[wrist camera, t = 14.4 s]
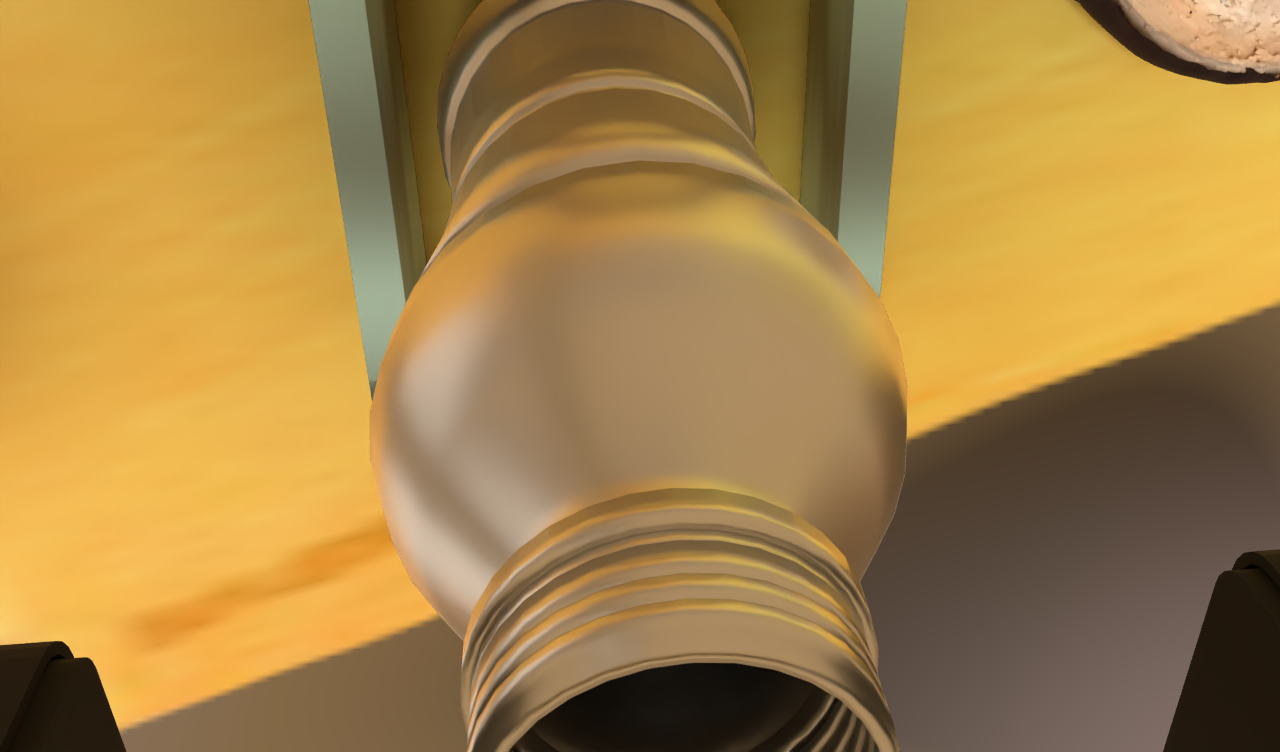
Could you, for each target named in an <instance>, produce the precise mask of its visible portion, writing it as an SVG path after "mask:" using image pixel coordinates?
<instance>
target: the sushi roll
mask: <svg viewBox="0 0 1280 752" xmlns="http://www.w3.org/2000/svg"><path fill="white" fill-rule="evenodd" d="M1076 1H1077V2H1079V3H1080V4H1081V6H1082V7H1083V8H1084V9H1085V10H1086V11H1087V12H1088V13H1089V14H1090V15H1091V16H1092V17H1093V18H1094V19H1095V20H1096V21H1097V22H1098V23H1099V24H1100V25H1101V26H1102V27H1103V28H1104V29H1106V30H1107V31H1108V32H1109V33H1110V34H1111V35H1112V36H1113V37H1114V38H1115V39H1117V40H1118V41H1119V42H1120V43H1121V44H1122V45H1124V46H1125V47H1126V48H1127V49H1128V50H1130V51H1131V52H1132V53H1134V54H1135V55H1136V56H1138V57H1140V58H1141V59H1143V60H1145V61H1147V62H1149V63H1151V64H1153V65H1155V66H1157V67H1160V68H1162V69H1165V70H1167V71H1171V72H1174V73H1177V74H1180V75H1184V76H1188V77H1193V78H1197V79H1202V80H1208V81H1212V82H1216V83H1222V84H1247V83H1267V82H1273V81H1279V80H1280V0H1076Z"/></svg>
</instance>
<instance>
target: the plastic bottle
mask: <svg viewBox="0 0 1280 752" xmlns="http://www.w3.org/2000/svg"><path fill="white" fill-rule="evenodd" d="M437 129H438V135H439V141H440V147H441V153H442V158H443V164H444V169H445V175H446V179H447V181H448V184H449V186H450V189H451V192H452V207H451V210H450V214H449V217H448V221H447V224H446V228H445V231H444V235H443V236H442V238H441V240H440V242H439V244H438V245H437V247H436V249H435V251H434V253H433V254H432V256H431V258H430V260H429V262H428V263H427V265H426V267H425V269H424V271H423V272H422V274H421V276H420V278H419V280H418V282H417V284H416V285H415V286H414V288H413V290H412V292H411V294H410V296H409V298H408V300H407V302H406V304H405V306H404V309H403V311H402V313H401V315H400V317H399V319H398V321H397V323H396V325H395V328H394V330H393V332H392V335H391V338H390V341H389V344H388V347H387V350H386V353H385V355H384V358H383V360H382V363H381V365H380V369H379V374H378V378H377V383H376V387H375V392H374V396H373V400H372V405H371V409H370V461H371V465H372V469H373V473H374V477H375V481H376V485H377V490H378V494H379V498H380V502H381V505H382V509H383V512H384V515H385V519H386V522H387V525H388V529H389V532H390V536H391V539H392V542H393V545H394V547H395V549H396V551H397V553H398V555H399V557H400V559H401V561H402V563H403V565H404V567H405V569H406V571H407V573H408V575H409V577H410V579H411V581H412V583H413V584H414V585H415V586H416V587H417V589H418V590H419V591H420V592H421V593H422V595H423V596H424V597H425V598H426V600H427V601H428V602H429V603H430V604H431V606H432V607H433V608H434V609H435V610H436V612H437V613H438V614H439V615H440V616H441V617H442V619H443V620H444V621H445V622H446V623H447V624H448V625H449V626H450V627H451V628H452V629H453V630H454V631H455V632H456V634H457V635H458V636H459V637H460V638H461V639H462V640H463V641H464V646H463V658H462V671H461V672H462V673H461V693H460V707H461V711H462V716H463V720H464V725H465V729H466V734H467V736H468V743H467V752H900V749H899V745H898V741H897V737H896V733H895V729H894V725H893V721H892V718H891V715H890V712H889V709H888V706H887V703H886V700H885V697H884V693H883V690H882V687H881V684H880V681H879V678H878V643H877V639H876V635H875V631H874V627H873V623H872V619H871V615H870V612H869V609H868V606H867V603H866V599H865V596H864V593H863V590H862V587H861V584H860V580H861V578H862V576H863V574H864V573H865V571H866V569H867V567H868V565H869V563H870V561H871V559H872V558H873V556H874V554H875V552H876V550H877V548H878V546H879V544H880V542H881V540H882V538H883V536H884V534H885V532H886V530H887V528H888V526H889V524H890V522H891V520H892V518H893V516H894V513H895V510H896V506H897V502H898V498H899V494H900V491H901V487H902V483H903V479H904V475H905V463H906V435H907V380H906V375H905V370H904V365H903V359H902V354H901V349H900V344H899V339H898V337H897V335H896V333H895V330H894V328H893V326H892V324H891V322H890V320H889V317H888V315H887V313H886V311H885V309H884V306H883V304H882V302H881V300H880V298H879V296H878V294H877V293H876V292H875V291H874V289H873V288H872V287H871V286H870V284H869V283H868V282H867V280H866V279H865V277H864V276H863V275H862V273H861V272H860V270H859V269H858V267H857V266H856V265H855V263H854V262H853V261H852V260H851V258H850V257H849V256H848V255H847V253H846V252H845V251H844V250H843V248H842V247H841V246H840V244H839V243H838V242H837V241H836V239H835V238H834V237H833V236H832V234H831V233H830V232H829V231H828V229H826V228H825V227H824V226H823V225H821V224H820V223H819V222H818V221H817V220H816V219H815V218H814V217H813V216H812V215H811V214H810V213H809V212H808V211H807V210H806V209H805V208H804V207H803V206H802V205H801V204H800V203H799V202H798V201H797V200H796V199H795V198H793V197H792V196H791V195H790V194H789V193H788V192H787V191H786V190H785V189H784V188H783V187H782V186H781V185H780V184H779V183H778V182H777V181H776V180H775V179H774V178H773V176H772V175H771V173H770V172H769V170H768V168H767V167H766V165H765V164H764V162H763V161H762V160H761V158H760V157H759V155H758V153H757V151H756V147H755V143H754V141H755V107H754V95H753V86H752V80H751V76H750V71H749V67H748V63H747V59H746V55H745V51H744V49H743V47H742V45H741V43H740V40H739V38H738V36H737V34H736V32H735V30H734V28H733V26H732V23H731V22H730V21H729V19H728V18H727V17H726V15H725V14H724V13H723V11H722V10H721V9H720V7H719V6H718V5H717V3H716V2H715V1H714V0H483V1H482V2H481V3H480V4H479V5H478V6H477V7H476V8H475V10H474V11H473V13H472V14H471V15H470V17H469V18H468V20H467V21H466V23H465V24H464V25H463V27H462V28H461V30H460V31H459V32H458V34H457V36H456V39H455V41H454V43H453V45H452V48H451V50H450V52H449V54H448V57H447V59H446V61H445V64H444V68H443V73H442V77H441V82H440V86H439V91H438V102H437Z"/></svg>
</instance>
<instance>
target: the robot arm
mask: <svg viewBox="0 0 1280 752" xmlns="http://www.w3.org/2000/svg"><path fill="white" fill-rule="evenodd" d="M0 752H126V749H125V747H124V744H123V741H122V738H121V736H120V733H119V730H118V727H117V725H116V722H115V719H114V716H113V714H112V711H111V708H110V705H109V702H108V700H107V697H106V694H105V691H104V689H103V686H102V683H101V680H100V678H99V675H98V672H97V669H96V667H95V665H94V663H93V661H92V660H90V659H89V658H74V656H73V654H72V652H71V650H70V649H69V647H68V646H67V645H66V644H65V643H63V642H62V641H52V642H38V643H25V644H12V645H0ZM1163 752H1280V550H1267V551H1255V552H1247V553H1243V554H1242V555H1241V556H1240V557H1239V558H1238V559H1237V560H1236V562H1235V564H1234V567H1233V568H1232V570H1231V571H1224V572H1223V573H1222V574H1221V575H1220V576H1219V577H1218V579H1217V581H1216V584H1215V587H1214V590H1213V593H1212V597H1211V600H1210V603H1209V606H1208V610H1207V612H1206V616H1205V619H1204V622H1203V625H1202V628H1201V632H1200V635H1199V638H1198V641H1197V644H1196V648H1195V651H1194V655H1193V657H1192V660H1191V664H1190V667H1189V670H1188V673H1187V676H1186V680H1185V683H1184V686H1183V689H1182V693H1181V696H1180V699H1179V702H1178V705H1177V708H1176V712H1175V715H1174V718H1173V722H1172V725H1171V728H1170V731H1169V734H1168V737H1167V741H1166V744H1165V747H1164V750H1163Z"/></svg>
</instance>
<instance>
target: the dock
mask: <svg viewBox="0 0 1280 752" xmlns="http://www.w3.org/2000/svg"><path fill="white" fill-rule="evenodd" d="M308 1H309V7H310V13H311V20H312V26H313V32H314V39H315V45H316V51H317V57H318V64H319V70H320V76H321V83H322V89H323V95H324V101H325V108H326V114H327V120H328V127H329V133H330V139H331V146H332V152H333V158H334V164H335V171H336V177H337V183H338V190H339V196H340V202H341V208H342V215H343V221H344V227H345V234H346V240H347V246H348V252H349V259H350V265H351V271H352V278H353V284H354V290H355V296H356V303H357V309H358V315H359V322H360V328H361V334H362V340H363V347H364V353H365V359H366V366H367V372H368V378H369V384H370V391H371V397H372V400H373V396H374V392H375V387H376V383H377V378H378V374H379V369H380V365H381V363H382V360H383V358H384V355H385V353H386V350H387V347H388V344H389V341H390V338H391V335H392V332H393V330H394V328H395V325H396V323H397V321H398V319H399V317H400V315H401V313H402V311H403V309H404V306H405V304H406V302H407V300H408V298H409V296H410V294H411V292H412V290H413V288H414V286H415V285H416V284H417V282H418V280H419V278H420V276H421V274H422V272H423V271H424V269H425V267H426V265H427V262H426V254H425V246H424V238H423V230H422V222H421V213H420V205H419V197H418V189H417V181H416V173H415V165H414V157H413V148H412V140H411V132H410V124H409V116H408V108H407V100H406V92H405V83H404V75H403V67H402V59H401V51H400V43H399V35H398V27H397V18H396V10H395V2H394V0H308ZM906 8H907V0H810V20H809V39H808V59H807V78H806V98H805V117H804V137H803V156H802V176H801V195H800V204H801V205H802V206H803V207H804V208H805V209H806V210H807V211H808V212H809V213H810V214H811V215H812V216H813V217H814V218H815V219H816V220H817V221H818V222H819V223H820V224H821V225H823V226H824V227H825V228H826V229H828V231H829V232H830V233H831V234H832V236H833V237H834V238H835V239H836V241H837V242H838V243H839V244H840V246H841V247H842V248H843V250H844V251H845V252H846V253H847V255H848V256H849V257H850V258H851V260H852V261H853V262H854V263H855V265H856V266H857V267H858V269H859V270H860V272H861V273H862V275H863V276H864V277H865V279H866V280H867V282H868V283H869V284H870V286H871V287H872V288H873V289H874V291H875V292H876V293H877V294H878V296H879V298H880V292H881V281H882V270H883V259H884V248H885V237H886V226H887V215H888V204H889V194H890V183H891V172H892V161H893V150H894V139H895V128H896V117H897V106H898V95H899V85H900V74H901V63H902V52H903V41H904V30H905V19H906Z"/></svg>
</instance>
